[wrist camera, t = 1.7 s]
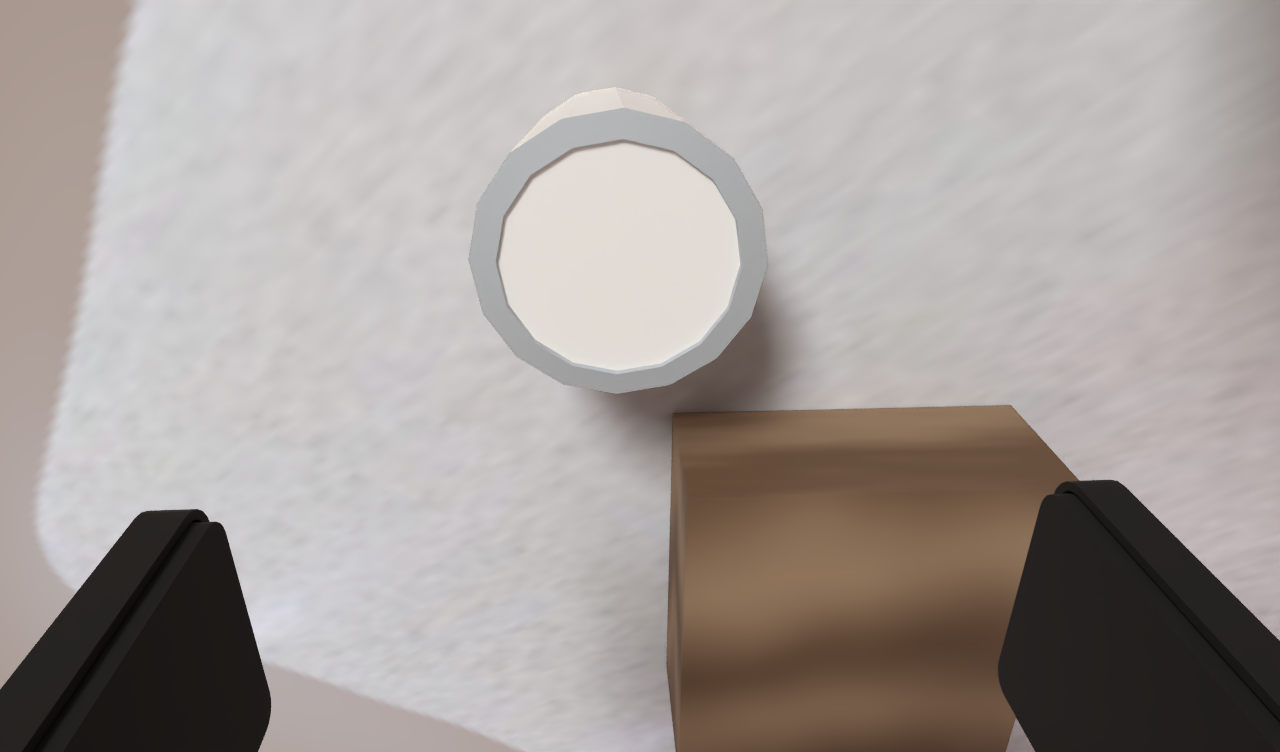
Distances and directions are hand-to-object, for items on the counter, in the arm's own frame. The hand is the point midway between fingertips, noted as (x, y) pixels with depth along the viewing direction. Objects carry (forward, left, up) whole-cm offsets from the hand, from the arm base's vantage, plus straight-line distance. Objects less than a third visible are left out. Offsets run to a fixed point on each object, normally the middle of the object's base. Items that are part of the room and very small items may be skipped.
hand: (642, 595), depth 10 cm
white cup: (0, 0, -18) cm, 18 cm away
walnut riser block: (+14, +8, -18) cm, 24 cm away
